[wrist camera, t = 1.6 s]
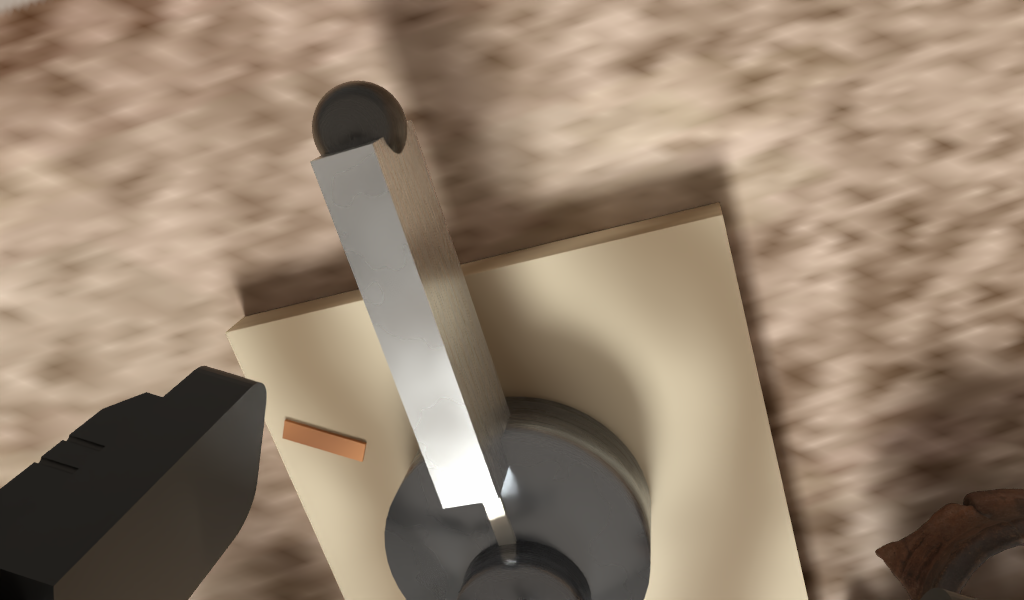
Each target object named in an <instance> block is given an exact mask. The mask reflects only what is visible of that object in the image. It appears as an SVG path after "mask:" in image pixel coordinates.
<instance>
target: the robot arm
mask: <svg viewBox="0 0 1024 600" xmlns="http://www.w3.org/2000/svg"><path fill="white" fill-rule="evenodd" d="M266 400H267V392H266V388H265V385H264V384H263V383H261V382H257V381H254V380H251V379H247V378H244V377H241V376H237V375H234V374H231V373H227V372H224V371H221V370H217V369H214V368H210V367H207V366H201V367H199V368H197V369H196V370H194V371H193V372H192V373H191V374H190V375H188V376H187V377H186V378H185V379H184V380H183V381H181V382H180V383H179V384H178V385H177V386H176V387H174V388H173V389H172V390H171V391H170V392H168V393H167V394H166V395H165V396H164V397H160V396H157V395H153V394H150V393H147V392H146V393H143V394H141V395H138V396H135V397H133V398H130V399H128V400H125V401H122V402H120V403H117V404H115V405H112V406H109V407H107V408H104V409H102V410H101V411H99V412H98V413H97V414H95V415H94V416H93V417H92V418H90V419H89V420H88V421H87V422H85V423H84V424H83V425H81V426H80V427H79V428H78V429H76V430H75V431H74V432H72V433H71V434H70V435H69V438H68V440H67V441H64V440H62V441H61V442H60V443H58V444H57V445H56V446H55V447H53V448H52V449H51V450H49V451H48V452H47V453H46V454H44V455H43V456H42V457H41V460H40V462H39V463H35V462H34V463H33V464H32V465H30V466H29V467H28V468H26V469H25V470H24V471H23V472H21V473H20V474H19V475H18V476H16V477H15V478H14V479H12V480H11V481H10V482H9V483H7V484H6V485H5V486H3V487H2V488H1V489H0V600H188V599H189V598H190V596H191V595H192V594H193V592H194V591H195V590H196V588H197V587H198V586H199V584H200V583H201V582H202V580H203V579H204V578H205V577H206V575H207V574H208V573H209V571H210V570H211V569H212V567H213V566H214V565H215V563H216V562H217V561H218V559H219V558H220V557H221V555H222V554H223V553H224V552H225V550H226V549H227V548H228V546H229V545H230V544H231V542H232V541H233V540H234V538H235V537H236V536H237V534H238V533H239V531H240V529H241V527H242V526H243V524H244V522H245V520H246V517H247V515H248V513H249V510H250V508H251V505H252V502H253V499H254V495H255V491H256V486H257V478H258V470H259V461H260V453H261V444H262V435H263V427H264V418H265V410H266ZM921 600H978V599H975V598H971V597H968V596H965V595H961V594H958V593H955V592H951V591H948V590H945V589H941V588H933V589H930V590H929V591H928V592H926V593H925V594H924V595H923V597H922V598H921Z"/></svg>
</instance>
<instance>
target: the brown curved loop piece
mask: <svg viewBox="0 0 1024 600" xmlns="http://www.w3.org/2000/svg"><path fill="white" fill-rule="evenodd" d="M1018 545H1024V489H996V490H989V491H977V492H972V493H970V494H967V495H966V496H965V498H964V504H963V505H960V504H955V503H950V504H947V505H945V506H944V507H943V508H941V509H940V510H938V511H937V512H936V513H934V514H933V515H932V517H931V518H930V519H929V520H928V521H927V522H926V523H925V524H923V525H922V526H921V527H920V528H919V529H918V530H917V531H915V532H914V533H912V534H910V535H909V536H907V537H905V538H903V539H901V540H899V541H897V542H891V543H889V544H886V545H884V546H882V547H881V548H879V549H877V550H876V551H875V553H876V555H877V556H878V557H880V558H882V559H883V561H884V562H885V563H886V565H887V566H888V567H889V568H890V570H891V571H892V573H893V574H894V575H895V576H896V577H897V578H898V580H899V581H900V582H901V583H902V585H903V586H904V588H905V589H906V590H907V592H908V594H909V595H910V597H911V599H912V600H921V598H922V597H923V595H924V594H925V593H926V592H928V591H929V590H930V589H933V588H941V589H945V590H948V591H951V592H955V593H958V594H960V592H961V590H962V588H963V587H964V586H965V585H966V583H967V581H968V580H969V579H970V577H971V575H972V574H973V573H974V572H975V571H976V569H977V568H978V567H980V566H981V564H983V563H984V562H985V561H986V560H987V559H988V558H990V557H991V556H993V555H995V554H997V553H999V552H1002V551H1004V550H1006V549H1009V548H1012V547H1015V546H1018Z"/></svg>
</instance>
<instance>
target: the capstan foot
mask: <svg viewBox="0 0 1024 600" xmlns="http://www.w3.org/2000/svg"><path fill="white" fill-rule="evenodd" d="M312 133H313V138H314V142H315V145H316V147H317V149H318V151H319V152H320V154H321V156H320V157H318V158H316V159H314V160H313V161H311V165H312V167H313V170H314V173H315V175H316V178H317V180H318V183H319V186H320V188H321V191H322V194H323V196H324V199H325V201H326V204H327V207H328V209H329V212H330V214H331V217H332V220H333V222H334V225H335V227H336V230H337V233H338V235H339V238H340V241H341V243H342V246H343V248H344V251H345V254H346V256H347V259H348V261H349V264H350V267H351V269H352V272H353V274H354V277H355V280H356V282H357V285H358V288H359V290H360V293H361V295H362V298H363V301H364V303H365V306H366V308H367V311H368V314H369V316H370V319H371V321H372V324H373V327H374V329H375V332H376V335H377V337H378V340H379V342H380V345H381V348H382V350H383V353H384V355H385V358H386V361H387V363H388V366H389V368H390V371H391V374H392V376H393V379H394V382H395V384H396V387H397V389H398V392H399V395H400V397H401V400H402V402H403V405H404V408H405V410H406V413H407V415H408V418H409V421H410V423H411V426H412V429H413V431H414V434H415V436H416V439H417V442H418V444H419V449H418V451H417V453H416V455H415V457H414V459H413V461H412V463H411V465H410V467H409V469H408V471H407V473H406V475H405V477H404V479H403V481H402V483H401V485H400V487H399V489H398V491H397V493H396V495H395V497H394V499H393V501H392V503H391V506H390V508H389V512H388V515H387V519H386V525H385V533H384V535H385V551H386V556H387V561H388V564H389V567H390V570H391V573H392V576H393V578H394V580H395V582H396V584H397V586H398V588H399V590H400V591H401V593H402V594H403V596H404V597H405V599H406V600H644V598H645V595H646V592H647V589H648V585H649V578H650V567H651V499H650V494H649V489H648V485H647V482H646V479H645V477H644V474H643V472H642V470H641V468H640V466H639V464H638V462H637V460H636V459H635V457H634V456H633V454H632V453H631V452H630V450H629V449H628V448H627V446H626V445H625V444H624V443H623V442H622V441H621V440H620V439H619V438H618V437H617V436H616V435H615V434H614V433H613V432H612V431H610V430H609V429H608V428H607V427H606V426H604V425H603V424H602V423H600V422H599V421H597V420H595V419H594V418H592V417H591V416H589V415H587V414H585V413H583V412H581V411H579V410H577V409H575V408H573V407H570V406H567V405H564V404H561V403H558V402H555V401H550V400H546V399H541V398H533V397H505V396H504V393H503V391H502V388H501V385H500V382H499V379H498V376H497V373H496V370H495V367H494V364H493V361H492V358H491V355H490V352H489V349H488V346H487V343H486V340H485V337H484V334H483V331H482V328H481V325H480V322H479V319H478V316H477V313H476V310H475V307H474V304H473V301H472V298H471V296H470V293H469V290H468V287H467V284H466V281H465V278H464V275H463V272H462V269H461V266H460V263H459V260H458V257H457V254H456V251H455V248H454V245H453V242H452V239H451V236H450V233H449V230H448V227H447V224H446V221H445V218H444V215H443V212H442V209H441V206H440V203H439V200H438V198H437V195H436V192H435V189H434V186H433V183H432V180H431V177H430V174H429V171H428V168H427V165H426V162H425V159H424V156H423V153H422V150H421V147H420V144H419V141H418V138H417V135H416V132H415V129H414V126H413V123H412V120H410V121H406V117H405V114H404V112H403V109H402V107H401V106H400V104H399V102H398V101H397V100H396V98H395V97H394V96H393V95H392V94H391V93H390V92H388V91H387V90H386V89H384V88H383V87H381V86H379V85H377V84H374V83H371V82H366V81H350V82H346V83H342V84H340V85H338V86H336V87H334V88H332V89H331V90H330V91H328V92H327V93H326V94H325V95H324V96H323V98H322V99H321V100H320V102H319V103H318V105H317V107H316V109H315V112H314V116H313V121H312Z"/></svg>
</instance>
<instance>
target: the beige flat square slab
mask: <svg viewBox="0 0 1024 600" xmlns="http://www.w3.org/2000/svg"><path fill="white" fill-rule="evenodd" d="M460 266H461V269H462V272H463V275H464V278H465V281H466V284H467V287H468V290H469V293H470V296H471V298H472V301H473V304H474V307H475V310H476V313H477V316H478V319H479V322H480V325H481V328H482V331H483V334H484V337H485V340H486V343H487V346H488V349H489V352H490V355H491V358H492V361H493V364H494V367H495V370H496V373H497V376H498V379H499V382H500V385H501V388H502V391H503V393H504V396H505V397H533V398H541V399H546V400H550V401H555V402H558V403H561V404H564V405H567V406H570V407H573V408H575V409H577V410H579V411H581V412H583V413H585V414H587V415H589V416H591V417H592V418H594V419H595V420H597V421H599V422H600V423H602V424H603V425H604V426H606V427H607V428H608V429H609V430H610V431H612V432H613V433H614V434H615V435H616V436H617V437H618V438H619V439H620V440H621V441H622V442H623V443H624V444H625V445H626V446H627V448H628V449H629V450H630V452H631V453H632V454H633V456H634V457H635V459H636V460H637V462H638V464H639V466H640V468H641V470H642V472H643V474H644V477H645V479H646V482H647V485H648V489H649V494H650V499H651V567H650V578H649V585H648V589H647V592H646V595H645V598H644V600H808V596H807V592H806V587H805V583H804V578H803V574H802V569H801V565H800V560H799V556H798V551H797V547H796V543H795V538H794V534H793V529H792V525H791V520H790V516H789V511H788V507H787V502H786V498H785V493H784V489H783V484H782V480H781V475H780V471H779V466H778V462H777V457H776V453H775V448H774V444H773V439H772V435H771V430H770V426H769V421H768V417H767V412H766V408H765V403H764V399H763V394H762V390H761V385H760V381H759V376H758V372H757V367H756V363H755V358H754V354H753V349H752V345H751V340H750V336H749V331H748V327H747V322H746V318H745V313H744V309H743V304H742V300H741V295H740V291H739V286H738V282H737V277H736V273H735V268H734V264H733V259H732V255H731V250H730V246H729V241H728V237H727V232H726V228H725V223H724V219H723V214H722V211H721V207H720V203H719V202H718V203H714V204H710V205H705V206H701V207H697V208H693V209H689V210H685V211H681V212H676V213H672V214H668V215H664V216H660V217H656V218H652V219H647V220H643V221H639V222H635V223H631V224H627V225H623V226H618V227H614V228H610V229H606V230H602V231H598V232H594V233H589V234H585V235H581V236H577V237H573V238H569V239H565V240H560V241H556V242H552V243H548V244H544V245H540V246H536V247H531V248H527V249H523V250H519V251H515V252H511V253H507V254H502V255H498V256H494V257H490V258H486V259H482V260H478V261H473V262H469V263H465V264H461V265H460ZM226 335H227V338H228V340H229V342H230V344H231V347H232V349H233V351H234V353H235V355H236V358H237V360H238V362H239V364H240V367H241V369H242V371H243V373H244V376H245V378H247V379H251V380H254V381H257V382H261V383H263V384H264V385H265V388H266V392H267V400H266V410H265V418H264V420H265V422H266V425H267V427H268V429H269V431H270V434H271V436H272V438H273V440H274V443H275V445H276V447H277V449H278V452H279V454H280V456H281V458H282V460H283V463H284V465H285V467H286V469H287V472H288V474H289V476H290V478H291V481H292V483H293V485H294V487H295V490H296V492H297V494H298V496H299V498H300V501H301V503H302V505H303V507H304V510H305V512H306V514H307V516H308V519H309V521H310V523H311V525H312V527H313V530H314V532H315V534H316V536H317V539H318V541H319V543H320V545H321V548H322V550H323V552H324V554H325V557H326V559H327V561H328V563H329V565H330V568H331V570H332V572H333V574H334V577H335V579H336V581H337V583H338V586H339V588H340V590H341V592H342V595H343V597H344V599H345V600H406V599H405V597H404V596H403V594H402V593H401V591H400V590H399V588H398V586H397V584H396V582H395V580H394V578H393V576H392V573H391V570H390V567H389V564H388V561H387V556H386V551H385V535H384V533H385V525H386V519H387V515H388V512H389V508H390V506H391V503H392V501H393V499H394V497H395V495H396V493H397V491H398V489H399V487H400V485H401V483H402V481H403V479H404V477H405V475H406V473H407V471H408V469H409V467H410V465H411V463H412V461H413V459H414V457H415V455H416V453H417V451H418V449H419V444H418V442H417V439H416V436H415V434H414V431H413V429H412V426H411V423H410V421H409V418H408V415H407V413H406V410H405V408H404V405H403V402H402V400H401V397H400V395H399V392H398V389H397V387H396V384H395V382H394V379H393V376H392V374H391V371H390V368H389V366H388V363H387V361H386V358H385V355H384V353H383V350H382V348H381V345H380V342H379V340H378V337H377V335H376V332H375V329H374V327H373V324H372V321H371V319H370V316H369V314H368V311H367V308H366V306H365V303H364V301H363V298H362V295H361V293H360V290H359V289H357V290H353V291H349V292H345V293H341V294H337V295H333V296H328V297H324V298H320V299H316V300H312V301H308V302H304V303H299V304H295V305H291V306H287V307H283V308H279V309H275V310H270V311H266V312H262V313H258V314H254V315H250V316H246V317H244V318H242V319H241V320H240V321H239V322H238V323H236V324H235V325H234V326H233V327H232V328H230V329H229V330H228V331H227V332H226Z"/></svg>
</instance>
